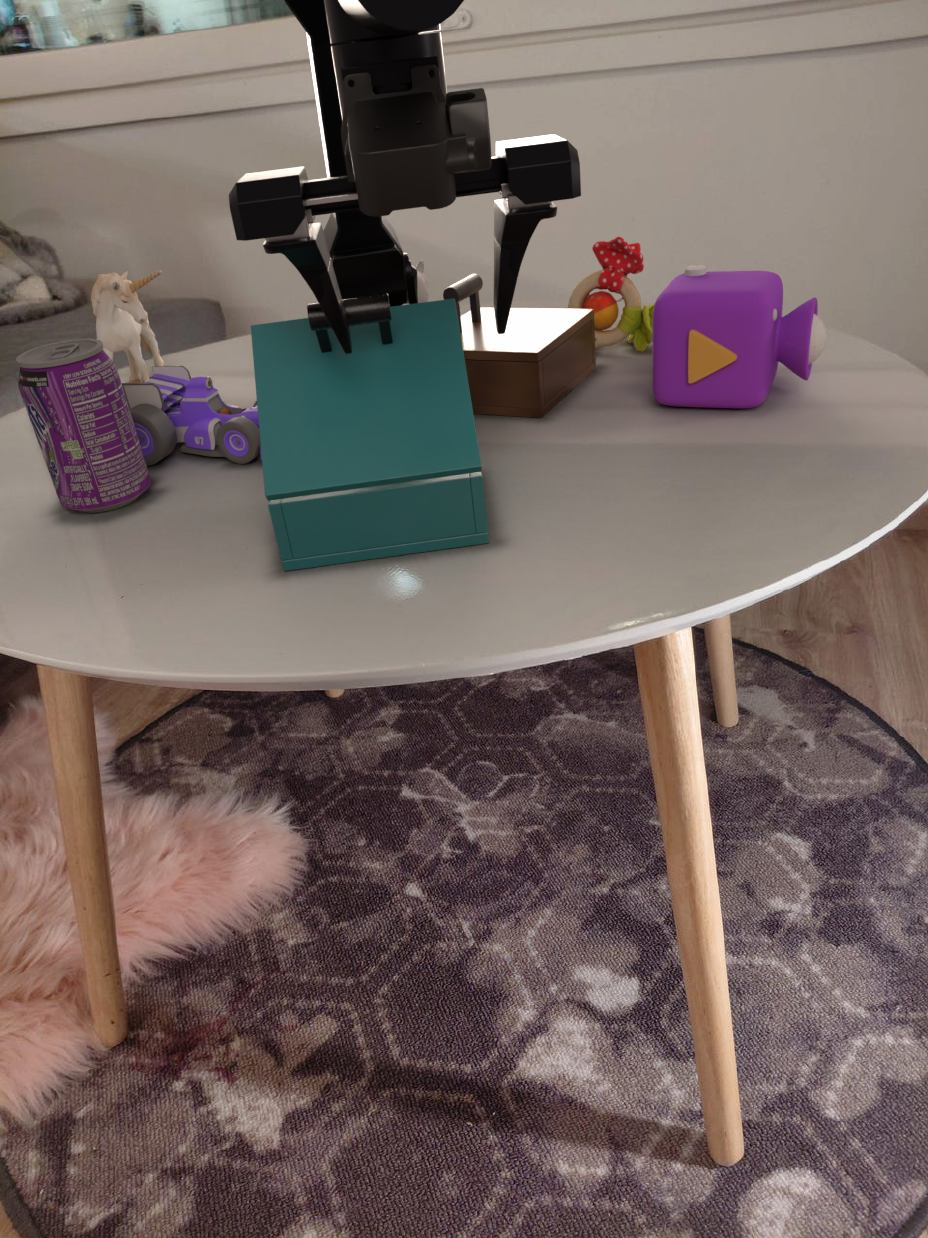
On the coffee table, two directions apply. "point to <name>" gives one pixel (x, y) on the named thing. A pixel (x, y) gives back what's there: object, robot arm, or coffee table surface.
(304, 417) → the lid
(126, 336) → the unicorn figurine
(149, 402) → the toy race car
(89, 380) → the beverage can
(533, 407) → the box
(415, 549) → the teal box
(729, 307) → the toy camera
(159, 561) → the coffee table surface
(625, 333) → the bird rattle
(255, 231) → the robot arm
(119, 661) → the coffee table surface
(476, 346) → the lid
